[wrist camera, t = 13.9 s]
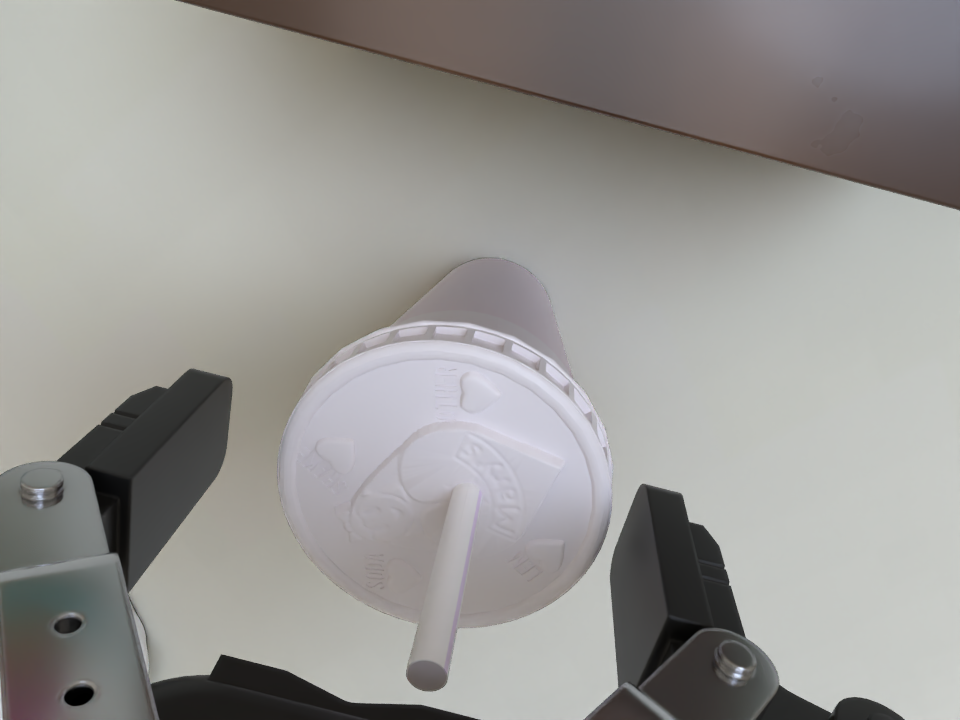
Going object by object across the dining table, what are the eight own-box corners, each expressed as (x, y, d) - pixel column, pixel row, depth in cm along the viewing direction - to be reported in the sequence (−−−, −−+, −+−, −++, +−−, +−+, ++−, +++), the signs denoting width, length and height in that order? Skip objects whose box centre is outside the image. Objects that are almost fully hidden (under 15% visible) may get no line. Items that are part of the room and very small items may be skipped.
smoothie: (626, 378, 23) (693, 808, 10) (435, 436, 25) (288, 872, 12) (556, 178, 21) (532, 411, 8) (351, 255, 23) (63, 552, 10)
